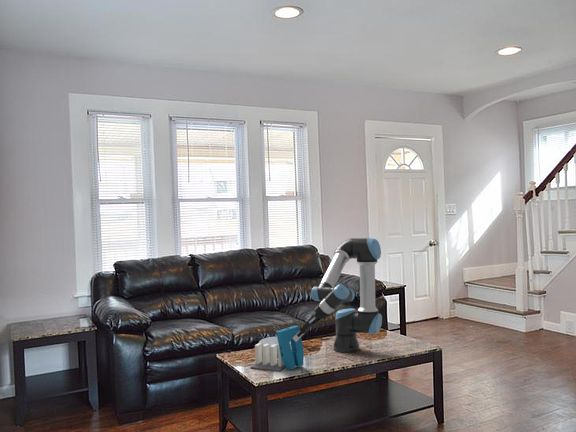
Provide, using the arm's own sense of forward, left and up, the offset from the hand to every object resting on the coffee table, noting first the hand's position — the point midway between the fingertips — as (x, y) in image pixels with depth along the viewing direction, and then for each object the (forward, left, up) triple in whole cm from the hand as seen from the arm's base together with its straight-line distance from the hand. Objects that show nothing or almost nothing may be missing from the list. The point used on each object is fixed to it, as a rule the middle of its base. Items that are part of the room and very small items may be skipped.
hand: (294, 339), depth 265 cm
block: (+1, -1, -15) cm, 15 cm away
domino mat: (+14, -1, -15) cm, 21 cm away
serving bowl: (+22, -25, -15) cm, 37 cm away
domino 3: (+13, -1, -14) cm, 19 cm away
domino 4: (+8, -1, -14) cm, 17 cm away
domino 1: (+22, -1, -14) cm, 26 cm away
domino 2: (+17, -1, -14) cm, 22 cm away
